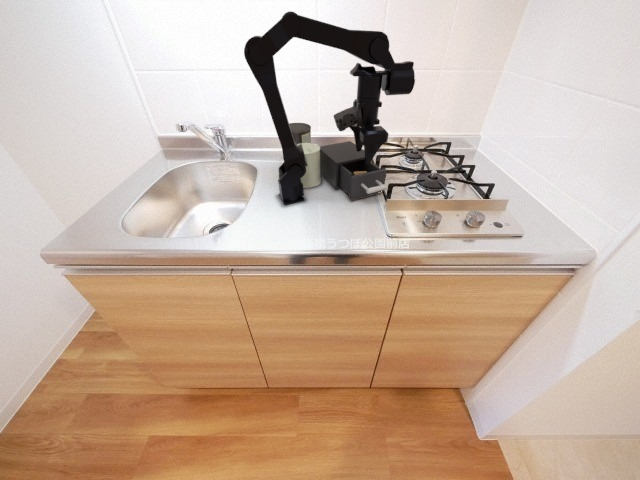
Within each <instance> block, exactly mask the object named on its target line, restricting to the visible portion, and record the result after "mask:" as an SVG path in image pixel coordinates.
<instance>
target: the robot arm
mask: <svg viewBox="0 0 640 480" xmlns="http://www.w3.org/2000/svg"><path fill="white" fill-rule="evenodd" d="M293 38H297V39H300V40H305V41H308V42H312V43H315V44H319V45H324V46H327V47H331V48H333V49H338V50H342V51H344V52H346V53H348V54H350V55H352V56H353V57H355V58H357V59H359V60H361V61H363V62H366V63H368V64H371V66H368V65H367V66H362V64H361V63H359V62H356V64H355V65H354V67H353V68H351V70H350V71H349V75H351V76H353V77H357V88H356V98H355V99H354V100H353V102H352V106H350V107H349V108H346V109H343V110H341V111H338V112H337V113H334V115H333V119H334V123H335V125H336V128H337V129H338V131H339V132H344V131H346V129H350V130H351V131H352V132H353V137H354V144H355V145H356V150H357V152H358V151H361V149H363V150H364V152H365V164H370V162H371V160H372V161H373V159H374V157H375V155H376V154H377V153H378V151H379V150H380V149H381V147H382V146H383V145H385V144H386V143H388V140H389V132H388V131H387V130H386V129H385V128H384V127H383V126H382V125H380V122H381V120H380V119H379V118H378V117H379V108H382V106H383V102H382V101H381V93H382V92H384V95H386V96H402V95H410V94H411V93H412V92H413V90H414V87H415V84H416V77H415V70H414V65H415V63H414V61H411V60H407V61H402V62H395V60H394V57H393V56H392V54H391V51H390V40H389V37H388V35H387V34H386V33H385V32H383V31H381V30H380V31H378V30H361V29H348V28H345V27H341V26H338V25H334V24H330V23H327V22H324V21H321V20H317V19H314V18H309V17H306V16H303V15H301V14H300V15H299V14H297V13H296V12H294V11H287V12H285V13H283V15H282V16H281V19H279V20H278V21H277V22H276V23H275V24H274V25H272V26H271V28H270V29H268V30H267V31H266V32H265V33H264V34H263V35H254V36H252V37H250V38H249V39H248V40H247V41H246V42H245V45H244V49H243V53H244V55H243V56H244V59H245V61H246V63H247V65H248V67H249V69H250V71H251V73H252V75H253V76H254V79H255V80H256V82H257V83H258V86H259V87H260V89H261V90H262V94H263V96H264V98H265V102H266V105H267V108H268V111H269V114H270V117H271V120H272V122H273V123H272V124H273V125H274V129H275V131H276V135H277V138H278V140H279V143H280V146H281V151H282V157H283V162H282V163H281V165H279V167H278V179H277V184H278V190H279V193H278V197H279V199H280V200H281V202H282V204H283V205H284V206H287V205H292V204H296V203H301V202H303V201H305V197H304V195H305V193H304V188H303V183H302V182H301V178H302V177H303V176H304V175H305V173H306V166H308V164H307V160H306V157H305V155H304V151H303V147H302V144H300V145H298V146H297V144H296V142H295V141H294V138H293V135H292V132H291V128H290V125H289V124H290V122H289V119H288V115H287V112H286V109H285V105H284V102H283V98H282V95H281V92H280V88H279V86H278V85H279V84H278V81H277V74H276V73H277V72H276V67H275V59H274V56H275V55H277V53H278V52H279V51H281V49H283V47H285V46H286V45H287V44H288V43H289V42H290V41H291V40H292V39H293ZM373 65H375V66H377V67H378V68H382V70H376V68H375V66H373Z"/></svg>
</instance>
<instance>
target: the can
mask: <svg viewBox="0 0 640 480" xmlns="http://www.w3.org/2000/svg"><path fill="white" fill-rule="evenodd" d="M300 144H302V147H303V151H304V155H305V157H306V160H307V164H308V166H306V173H305V175H304V176H303V177H302V178H301V182H302V183H303V189H310V188H315V187H318V186H319V185H320V184H321V183H322V179H321V178H322V175H321V174H320V146H321V145H319V144H316V143H313V142H311V143H300ZM300 144H297V146H298V145H300Z"/></svg>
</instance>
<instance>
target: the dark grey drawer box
mask: <svg viewBox="0 0 640 480" xmlns="http://www.w3.org/2000/svg"><path fill="white" fill-rule="evenodd" d="M319 146H320V176H321V177H323V178H324V179H325V180H326V181H327V182H328V183H329V185H331V187H333V189H334V190H341V189H342V188H341V187H340V186H339V185H338V170H339V165H341V164H346V163H351V162H356V161H361V160H365V152H364V148H362V149H361V151H358V152H357V150H356V144H355V142H352V141H351V140H349V141H342V142H336V143H331V144H325V145H319ZM372 161H373V159H372V160H371V162H372ZM372 163H373V162H372Z"/></svg>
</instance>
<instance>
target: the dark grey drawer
mask: <svg viewBox="0 0 640 480" xmlns="http://www.w3.org/2000/svg"><path fill="white" fill-rule="evenodd" d="M359 171H367V173H363V174H359V175H354V172H359ZM387 171H388V169H386V168H381V167H379V165H377V164H375V163H374V162H370V164H365V160H361V161H356V162H351V163H346V164H341V165H339V170H338V185H339V186H340V187H341V189H342V190H343V191H344V192H345V193H346V194H347V195H348V199H349V200H350V201H355V200H359V199H362V198H367V197H370V196H375V195H377V194H378V195H379V193H378V192H381V191H383V190H384V191H386V190H387V189H388V185H387V184H386V179H387ZM384 191H383V192H384ZM383 192H381V193H380V194H382V193H383Z"/></svg>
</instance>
